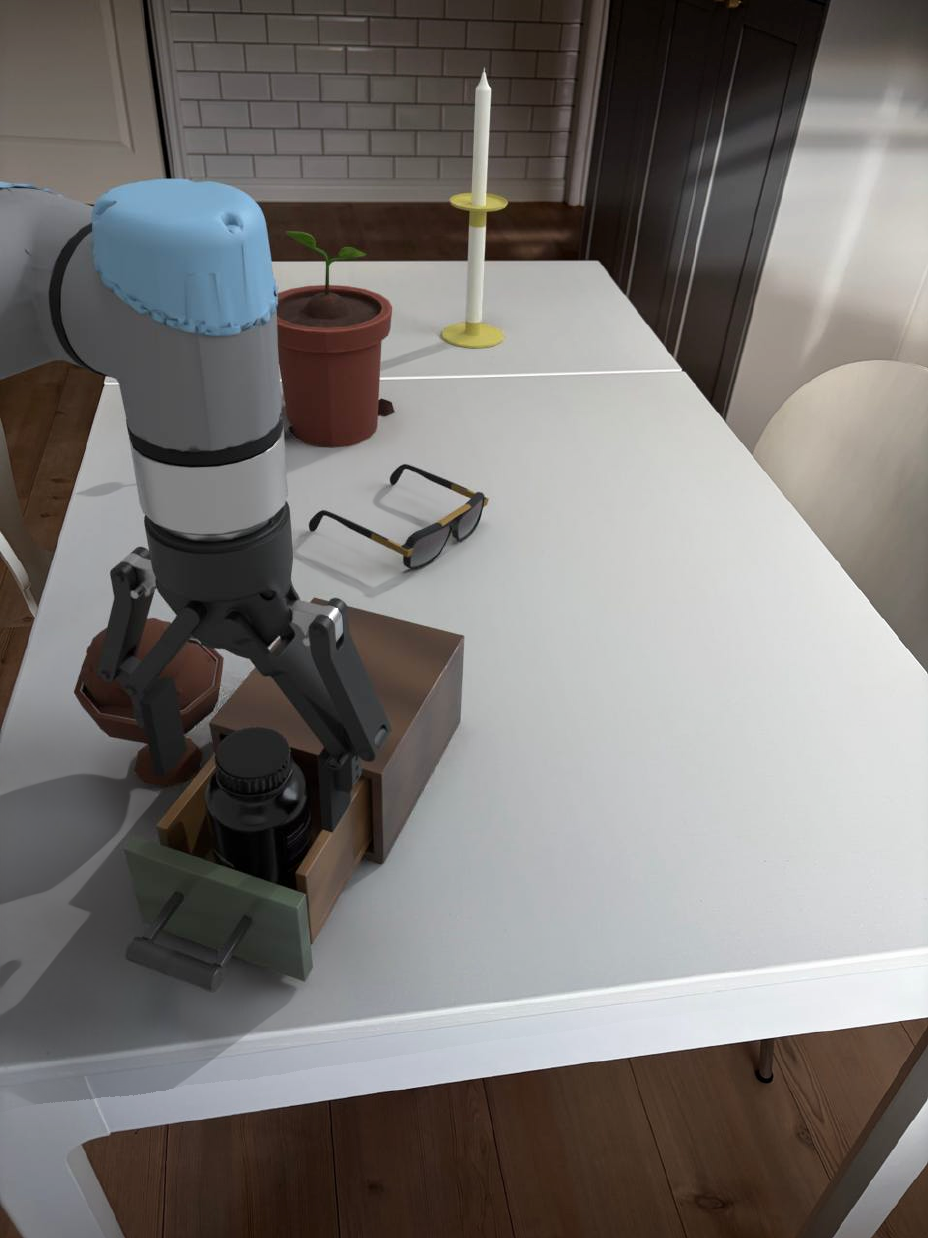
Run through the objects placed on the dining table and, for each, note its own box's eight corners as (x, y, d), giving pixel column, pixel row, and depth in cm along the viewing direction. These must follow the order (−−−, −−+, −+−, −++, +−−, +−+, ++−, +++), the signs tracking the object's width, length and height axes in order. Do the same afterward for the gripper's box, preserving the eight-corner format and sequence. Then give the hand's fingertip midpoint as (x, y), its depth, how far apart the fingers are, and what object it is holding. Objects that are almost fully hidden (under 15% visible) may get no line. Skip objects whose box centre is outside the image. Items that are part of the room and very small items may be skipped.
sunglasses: (391, 483, 118) (390, 445, 115) (494, 527, 111) (496, 489, 108) (308, 531, 109) (306, 491, 106) (415, 582, 102) (415, 542, 99)
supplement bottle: (200, 899, 68) (176, 777, 61) (241, 825, 73) (224, 705, 66) (294, 921, 67) (281, 800, 60) (329, 844, 72) (321, 725, 65)
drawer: (266, 1052, 61) (254, 980, 56) (95, 986, 64) (70, 912, 59) (398, 814, 76) (397, 741, 72) (255, 770, 79) (246, 697, 75)
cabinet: (383, 864, 74) (381, 774, 68) (223, 812, 77) (208, 722, 71) (460, 721, 86) (464, 635, 80) (319, 682, 90) (313, 596, 84)
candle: (443, 322, 160) (449, 59, 138) (504, 325, 160) (521, 63, 138) (439, 346, 152) (445, 71, 130) (504, 349, 152) (521, 75, 130)
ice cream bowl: (263, 746, 83) (245, 602, 74) (168, 834, 75) (135, 685, 66) (169, 700, 87) (141, 558, 78) (69, 778, 79) (25, 631, 70)
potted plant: (254, 456, 123) (233, 250, 107) (266, 382, 140) (249, 196, 125) (397, 454, 124) (396, 251, 109) (392, 382, 141) (390, 198, 126)
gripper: (455, 520, 52) (441, 801, 65) (70, 429, 58) (130, 704, 71) (399, 598, 46) (396, 889, 59) (-22, 489, 52) (62, 775, 65)
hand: (251, 788), depth 65 cm, fingers open, 12 cm apart
